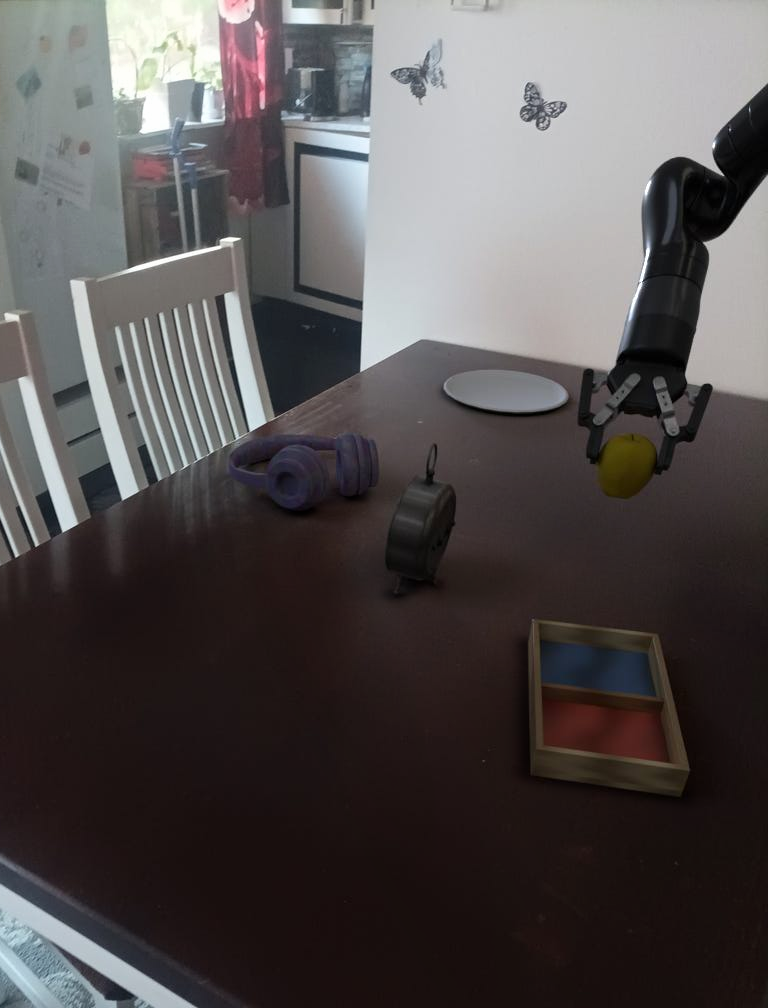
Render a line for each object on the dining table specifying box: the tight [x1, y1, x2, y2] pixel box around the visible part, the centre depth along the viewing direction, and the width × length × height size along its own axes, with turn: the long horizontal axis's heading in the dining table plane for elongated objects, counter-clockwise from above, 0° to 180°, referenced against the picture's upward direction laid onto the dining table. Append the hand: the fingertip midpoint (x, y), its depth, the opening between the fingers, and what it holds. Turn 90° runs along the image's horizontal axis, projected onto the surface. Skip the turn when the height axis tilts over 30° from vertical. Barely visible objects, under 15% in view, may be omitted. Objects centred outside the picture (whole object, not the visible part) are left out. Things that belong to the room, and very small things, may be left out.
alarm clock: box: [384, 442, 457, 597], centre depth 97 cm, size 11×5×16 cm, turn 154°
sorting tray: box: [527, 618, 691, 798], centre depth 82 cm, size 12×20×3 cm, turn 168°
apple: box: [595, 432, 659, 500], centre depth 100 cm, size 6×6×8 cm
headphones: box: [227, 432, 380, 512], centre depth 120 cm, size 18×8×20 cm
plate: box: [443, 369, 570, 415], centre depth 152 cm, size 21×21×1 cm
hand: (625, 466), depth 99 cm, fingers closed on apple, 6 cm apart
